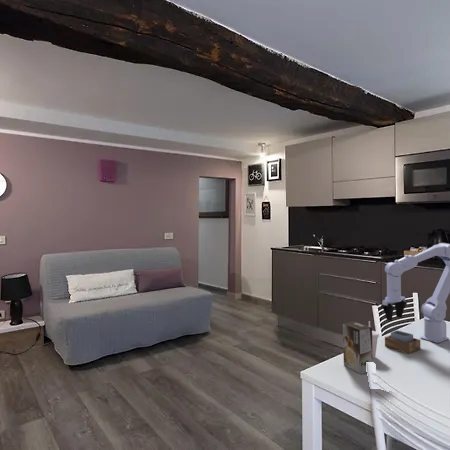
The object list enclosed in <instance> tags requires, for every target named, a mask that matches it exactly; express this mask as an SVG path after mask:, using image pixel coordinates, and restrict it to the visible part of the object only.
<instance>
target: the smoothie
mask: <svg viewBox="0 0 450 450" xmlns="http://www.w3.org/2000/svg"><path fill="white" fill-rule="evenodd" d="M368 326H369V327H371V321H370V320H369V321H368ZM379 335H380V334H379V332H377V331H376V330H372V351H373V359H375V358H376V357H377V356H376V355H377V347H378V346H377V345H378V338H379Z"/></svg>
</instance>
